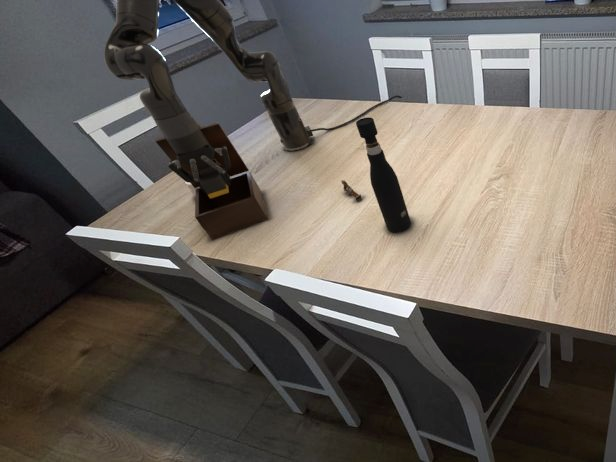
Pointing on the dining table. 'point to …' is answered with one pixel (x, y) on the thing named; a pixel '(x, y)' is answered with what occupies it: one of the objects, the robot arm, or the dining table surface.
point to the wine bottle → (384, 180)
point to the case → (231, 207)
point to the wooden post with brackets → (350, 190)
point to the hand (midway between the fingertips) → (218, 187)
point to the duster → (213, 182)
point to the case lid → (216, 139)
